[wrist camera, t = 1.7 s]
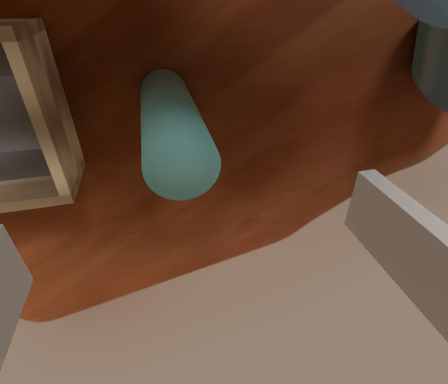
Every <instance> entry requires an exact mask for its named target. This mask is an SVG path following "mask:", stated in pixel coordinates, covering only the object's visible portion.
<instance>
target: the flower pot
mask: <svg viewBox="0 0 448 384" xmlns="http://www.w3.org/2000/svg"><path fill="white" fill-rule="evenodd" d="M411 70H412V75H413V78H414V81H415V84H416V86H417V88H418V90H419V91H420V92H421V94H422V95H423V96H424V97H425V98H426V99H427V100H428V101H430V102H431V103H433V104H434V105H436V106H437V107H439V108H440V109H442V110H444V111H445V112H447V113H448V28H438V27H435V26H432V25H429V24H426V23H424V22H422V21H420V20H419V24H418V30H417V37H416V43H415V50H414V56H413V62H412V69H411Z"/></svg>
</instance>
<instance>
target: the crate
mask: <svg viewBox="0 0 448 384" xmlns="http://www.w3.org/2000/svg"><path fill="white" fill-rule="evenodd" d="M85 165H86V163H85V160H84V156H83V153H82V150H81V146H80V143H79V140H78V136H77V133H76V130H75V126H74V123H73V120H72V116H71V113H70V110H69V106H68V103H67V99H66V96H65V93H64V89H63V86H62V83H61V79H60V76H59V73H58V69H57V66H56V63H55V59H54V56H53V53H52V49H51V46H50V43H49V39H48V36H47V33H46V29H45V26H44V23H43V19H42V17H38V18H5V19H0V213H6V212H13V211H21V210H28V209H35V208H43V207H50V206H58V205H65V204H72V203H74V201H75V198H76V195H77V191H78V188H79V185H80V182H81V178H82V175H83V172H84V169H85Z"/></svg>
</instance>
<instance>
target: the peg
mask: <svg viewBox="0 0 448 384" xmlns="http://www.w3.org/2000/svg"><path fill="white" fill-rule="evenodd" d="M140 100H141V163H142V174H143V178H144V180H145V182H146V184H147V185H148V187H149V188H150V189H151V190H152V191H153V192H154V193H156V194H157V195H159V196H161V197H163V198H166V199H170V200H176V201H182V200H189V199H193V198H196V197H198V196H200V195H202V194H204V193H205V192H207V191H208V190H209V189H210V188H211V187H212V186H213V185H214V183H215V182H216V180H217V178H218V176H219V173H220V169H221V158H220V154H219V152H218V149H217V147H216V145H215V143H214V141H213V139H212V137H211V135H210V133H209V131H208V129H207V127H206V125H205V123H204V121H203V119H202V117H201V115H200V113H199V111H198V109H197V107H196V105H195V103H194V101H193V99H192V97H191V95H190V93H189V91H188V89H187V87H186V85H185V83H184V81H183V80H182V78H181V77H180V76H179V75H178V74H177V73H175V72H174V71H171V70H168V69H157V70H154V71H152V72H150V73H149V74H148V75H146V77H145V78H144V79H143V81H142V84H141V88H140Z"/></svg>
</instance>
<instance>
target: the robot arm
mask: <svg viewBox="0 0 448 384" xmlns="http://www.w3.org/2000/svg"><path fill="white" fill-rule="evenodd" d="M394 1H395V2H396V3H398V4H399V5H400V6H401V7H402V8H403V9H404V10H405V11H406V12H407V13H409V14H410V15H411V16H413V17H414V18H416V19H418V20H420V21H422V22H424V23H426V24H429V25H432V26H435V27H438V28H448V0H394ZM345 225H346V226H347V227H348V228H349V229H350V231H351V232H352V233H353V234H354V235H355V236H356V237H357V239H358V240H359V241H360V242H361V243H362V244H363V245H364V247H365V248H366V249H367V250H368V251H369V252H370V254H371V255H372V256H373V257H374V258H375V259H376V260H377V262H378V263H379V264H380V265H381V266H382V267H383V268H384V270H385V271H386V272H387V273H388V274H389V275H390V277H391V278H392V279H393V280H394V281H395V282H396V283H397V285H398V286H399V287H400V288H401V289H402V290H403V291H404V293H405V294H406V295H407V296H408V297H409V298H410V300H411V301H412V302H413V303H414V304H415V305H416V306H417V308H419V310H420V311H421V312H422V313H423V314H424V316H425V317H426V318H427V319H428V320H429V321H430V322H431V324H432V325H433V326H434V327H435V328H436V329H437V331H438V332H439V333H440V334H441V335H442V336H443V337H444V339H445V340H446V341H447V342H448V225H447V224H446V223H444V222H443V221H442V220H440V219H439V218H438V217H437V216H435V215H434V214H433V213H431V212H430V211H429V210H427V209H426V208H425V207H423V206H422V205H421V204H420V203H418V202H417V201H416V200H414V199H413V198H412V197H410V196H409V195H408V194H407V193H405V192H404V191H403V190H401V189H400V188H399V187H398V186H396V185H395V184H394V183H392V182H391V181H390V180H388V179H387V178H386V177H384V176H383V175H382V174H381V173H379V172H378V171H377V170H375V169H372V170H366V171H359V172H358V174H357V178H356V182H355V186H354V190H353V194H352V197H351V201H350V205H349V209H348V213H347V217H346V221H345ZM32 282H33V278H32V276H31V274H30V272H29V270H28V269H27V267H26V265H25V263H24V261H23V260H22V258H21V256H20V254H19V252H18V251H17V249H16V247H15V245H14V243H13V242H12V240H11V238H10V236H9V234H8V233H7V231H6V229H5V227H4V225H3V224H0V370H1V367H2V364H3V361H4V358H5V356H6V353H7V350H8V348H9V345H10V342H11V339H12V336H13V334H14V331H15V329H16V326H17V323H18V320H19V318H20V315H21V312H22V309H23V307H24V304H25V301H26V298H27V296H28V293H29V290H30V288H31V285H32Z"/></svg>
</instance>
